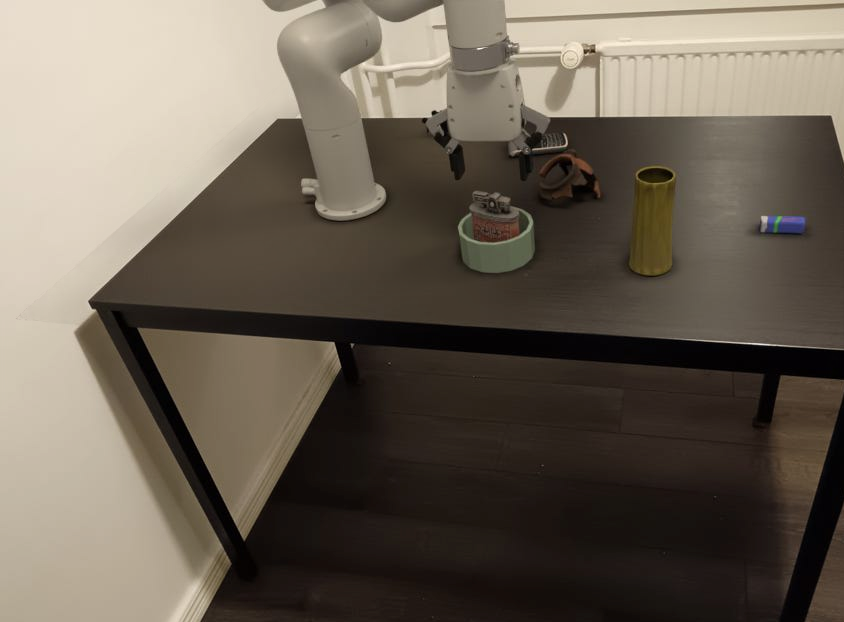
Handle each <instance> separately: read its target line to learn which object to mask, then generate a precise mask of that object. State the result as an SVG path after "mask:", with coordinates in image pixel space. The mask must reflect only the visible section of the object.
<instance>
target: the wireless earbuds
mask: <svg viewBox="0 0 844 622" xmlns="http://www.w3.org/2000/svg"><path fill="white" fill-rule="evenodd" d="M442 110H443V109H442ZM442 110H439V111H438V110H436V109H433V110H432V111H431V112H430V113H431V117H432V116H434V115H435V114H437V113H439V112H441V111H442ZM427 120H428V118H427V117H422V119H421V123H422V124H426V122H427ZM440 126H441V129H442V130H444V131H445V132H446V133H447V134H449V126H448V120H446V121H445V122H443V123H441V124H440ZM425 129H426V133H427V134H430V131H429V129H428V128H427V126H426V125H425Z"/></svg>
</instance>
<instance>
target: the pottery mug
mask: <svg viewBox="0 0 844 622" xmlns="http://www.w3.org/2000/svg"><path fill="white" fill-rule="evenodd" d="M557 166H559V168H560V169H561V171H562V172H563V173H564V175H565V178H563V179H562V180H560V181H559V182H557V183H554V184H546V183H545V179H546V177H547V175H548V174H549V173H550V172H551V171H552V169H553V168H555V167H557ZM538 175H539V177H540V178H539V179H538V181H537V184H538V186H539V196H540V197H541V198H542V199H544V200H547V201H548V200H549V201H553V200H559V199H561V198H564V197H568V198H574V196H573V191H572V186H575V187H577V186H584V187H593V192H594V193H595V197H596V199H597V200H599V199H600V198H601V189H600V186H599V181H598V178H597V175H596V173H595V171H594V169H593V168H592V167H591V166H590V165H589V163H587V162H586V161H585V160H583V159H581V158H580V157H579V155H578V152H577V151H576V150H575V149H574V148H568V149H566V150H565V151H564V152H562V153H561V154H557V155H555V156H554V157H551V158H550V159H549V160H547V162H546V163H545V164H544V165H543V166H542V167H541V169H540V170H539V173H538Z"/></svg>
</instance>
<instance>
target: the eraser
mask: <svg viewBox="0 0 844 622" xmlns="http://www.w3.org/2000/svg"><path fill="white" fill-rule="evenodd" d="M805 227H806V217H804V216H795V215H794V216H793V215H786V216H785V215H784V216H783V215H781V216H779V215H778V216H777V215H776V216H775V215H774V216H773V215H772V216H771V215H761V216H760V222H759V233H765V234H798V235H799V234H800V235H802V234H804V231H805Z"/></svg>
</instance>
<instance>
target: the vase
mask: <svg viewBox="0 0 844 622" xmlns="http://www.w3.org/2000/svg"><path fill="white" fill-rule="evenodd" d="M634 177H635V178H634V196H633V197H634V200H633V201H634V202H633V212H632V213H633V214H632V226H631V237H630V248H629V251H630V252H629V260H628V266H629V269H630V270H632V272H634V273H636V274H638V275H640V276H646V277H655V276H656V277H657V276H660V275H663V274H665V273H667V272H669V271H670V270H671V268H672V266H673V218H674V206H675V196H676V195H675V193H676V183H677V175H676V173H675V171H674V170H673V169H671V168H670V167H667V166H661V165H650V166H646V167H643V168H640V169H638V170H637V171H636V173H635V176H634Z"/></svg>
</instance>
